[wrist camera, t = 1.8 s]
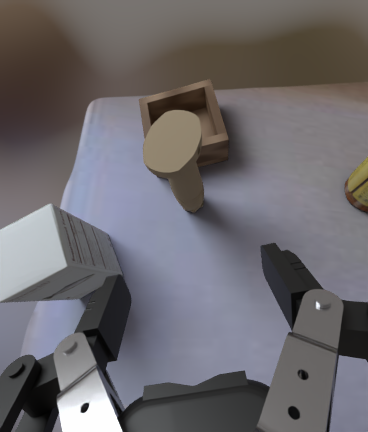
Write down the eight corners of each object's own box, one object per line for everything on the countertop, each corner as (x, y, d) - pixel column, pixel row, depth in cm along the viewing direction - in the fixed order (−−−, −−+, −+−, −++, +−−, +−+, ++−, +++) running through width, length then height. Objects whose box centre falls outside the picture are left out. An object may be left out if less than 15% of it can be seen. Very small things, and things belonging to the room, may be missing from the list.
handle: (214, 188, 34) (209, 114, 20) (201, 227, 32) (185, 177, 18) (184, 180, 35) (159, 106, 21) (170, 218, 33) (133, 165, 19)
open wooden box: (211, 104, 39) (210, 78, 34) (227, 159, 35) (228, 139, 30) (148, 121, 40) (138, 99, 35) (157, 177, 36) (147, 160, 31)
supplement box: (79, 300, 32) (-7, 306, 20) (66, 254, 34) (-16, 234, 22) (125, 276, 32) (67, 267, 20) (109, 231, 34) (49, 200, 22)
